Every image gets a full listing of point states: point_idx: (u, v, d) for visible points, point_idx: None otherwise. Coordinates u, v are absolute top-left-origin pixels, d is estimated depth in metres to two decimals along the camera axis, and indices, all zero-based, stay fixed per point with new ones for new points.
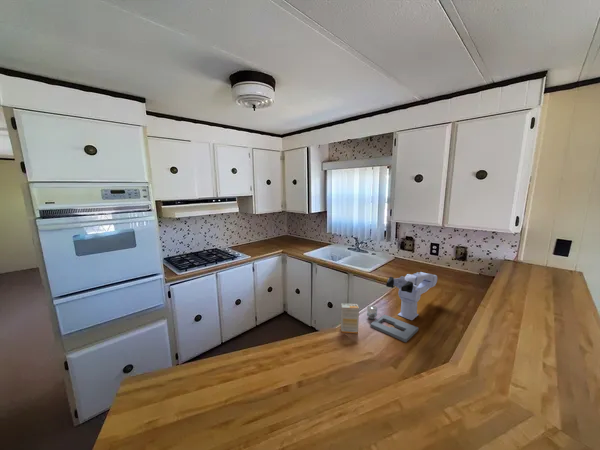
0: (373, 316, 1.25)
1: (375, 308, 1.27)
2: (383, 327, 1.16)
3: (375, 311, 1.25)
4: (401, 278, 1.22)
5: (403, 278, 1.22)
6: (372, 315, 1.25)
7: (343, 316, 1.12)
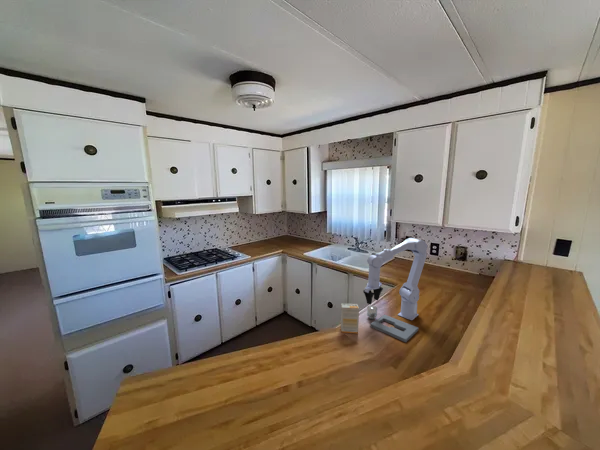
0: (373, 316, 1.25)
1: (375, 308, 1.27)
2: (383, 327, 1.16)
3: (375, 311, 1.25)
4: None
5: None
6: (372, 315, 1.25)
7: (343, 316, 1.12)
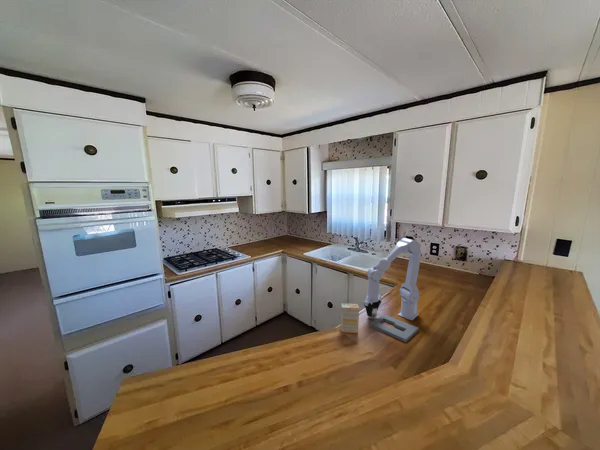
0: (373, 316, 1.25)
1: (375, 308, 1.27)
2: (383, 327, 1.16)
3: (375, 311, 1.25)
4: None
5: None
6: (372, 315, 1.25)
7: (343, 316, 1.12)
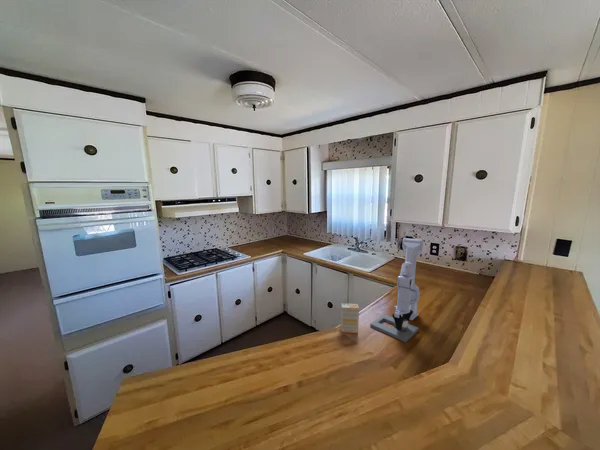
0: (404, 330, 1.12)
1: (406, 321, 1.14)
2: (383, 327, 1.16)
3: (406, 324, 1.12)
4: None
5: None
6: (403, 329, 1.12)
7: (343, 316, 1.12)
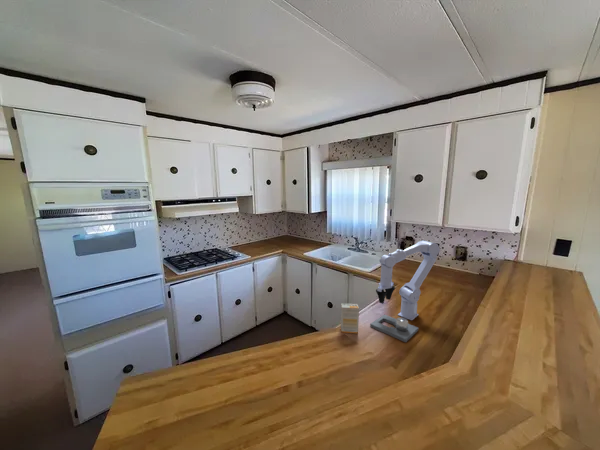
0: (404, 330, 1.12)
1: (406, 321, 1.14)
2: (383, 327, 1.16)
3: (406, 324, 1.12)
4: None
5: None
6: (403, 329, 1.12)
7: (343, 316, 1.12)
